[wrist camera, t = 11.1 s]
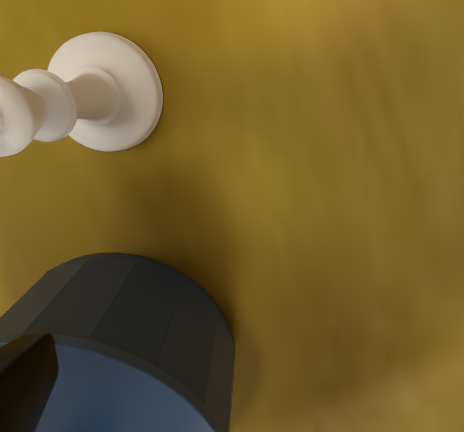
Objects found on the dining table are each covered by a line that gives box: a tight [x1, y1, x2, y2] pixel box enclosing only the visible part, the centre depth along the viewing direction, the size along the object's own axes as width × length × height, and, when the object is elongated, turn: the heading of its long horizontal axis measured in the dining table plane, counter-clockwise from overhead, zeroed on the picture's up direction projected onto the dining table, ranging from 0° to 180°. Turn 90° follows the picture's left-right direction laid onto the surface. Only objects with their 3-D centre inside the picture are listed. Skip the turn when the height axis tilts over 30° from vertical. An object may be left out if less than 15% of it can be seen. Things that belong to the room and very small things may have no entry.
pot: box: [0, 253, 235, 432], centre depth 19 cm, size 12×12×7 cm
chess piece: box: [0, 32, 163, 157], centre depth 12 cm, size 5×5×10 cm
